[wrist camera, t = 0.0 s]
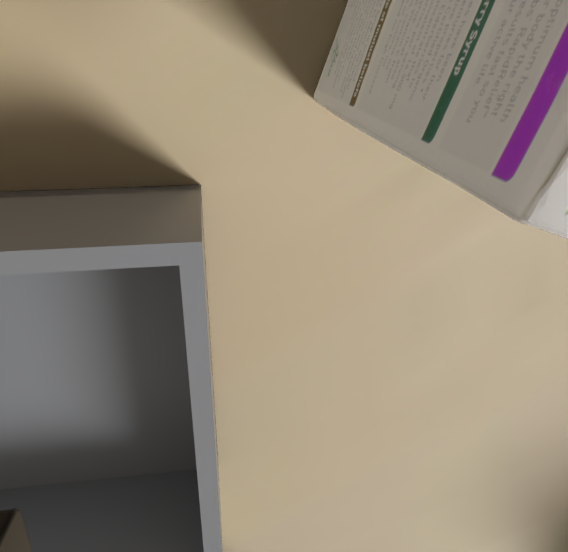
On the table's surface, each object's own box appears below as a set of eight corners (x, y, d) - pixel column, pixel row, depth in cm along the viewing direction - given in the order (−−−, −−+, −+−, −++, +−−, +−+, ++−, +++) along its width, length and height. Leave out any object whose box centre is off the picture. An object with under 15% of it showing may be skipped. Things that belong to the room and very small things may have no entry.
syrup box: (307, 102, 20) (506, 251, 7) (369, -73, 18) (814, -308, 5) (437, 150, 22) (796, 345, 9) (509, -5, 20) (1123, -53, 7)
